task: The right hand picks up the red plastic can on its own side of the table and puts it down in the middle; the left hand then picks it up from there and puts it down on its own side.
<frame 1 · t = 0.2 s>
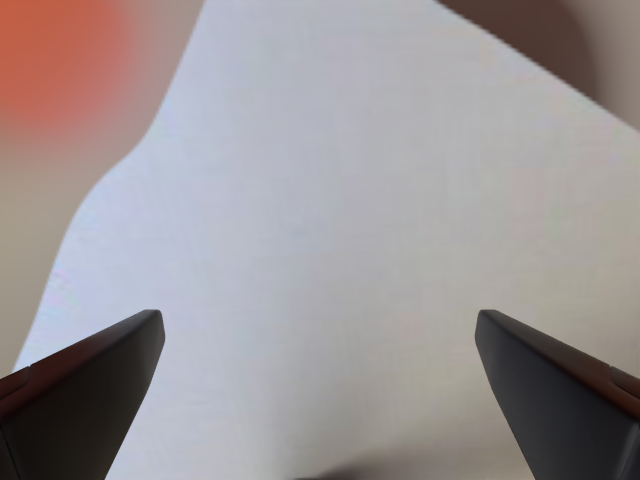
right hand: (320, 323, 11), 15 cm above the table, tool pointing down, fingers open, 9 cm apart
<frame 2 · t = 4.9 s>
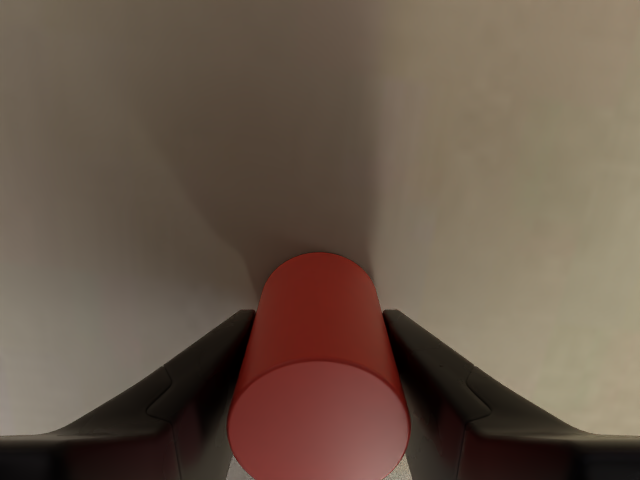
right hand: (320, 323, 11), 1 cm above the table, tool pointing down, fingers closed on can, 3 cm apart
can: (319, 304, 12), on the table, touching right hand
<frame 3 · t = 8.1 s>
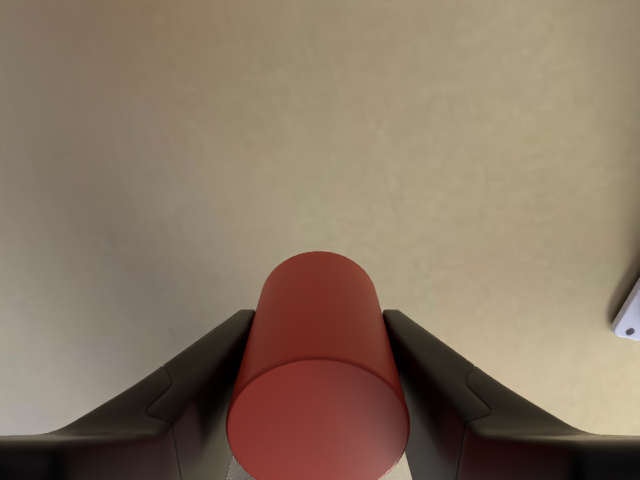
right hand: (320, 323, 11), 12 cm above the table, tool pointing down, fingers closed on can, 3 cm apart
can: (318, 304, 12), point 11 cm above the table, touching right hand
when the right hand's fingers open (2 cm above the table, at t = 11.2 s): can stays where it is, on the table.
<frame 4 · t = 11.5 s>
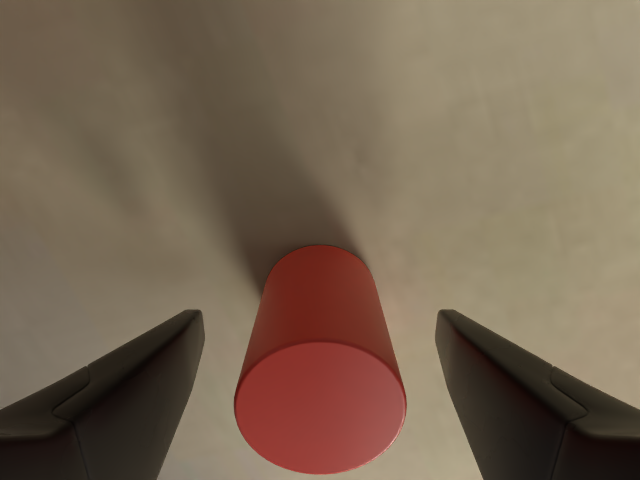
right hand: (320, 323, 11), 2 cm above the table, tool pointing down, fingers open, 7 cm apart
can: (320, 295, 13), on the table
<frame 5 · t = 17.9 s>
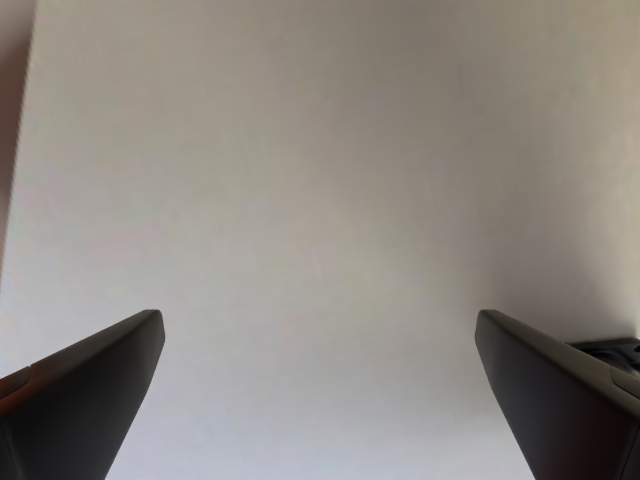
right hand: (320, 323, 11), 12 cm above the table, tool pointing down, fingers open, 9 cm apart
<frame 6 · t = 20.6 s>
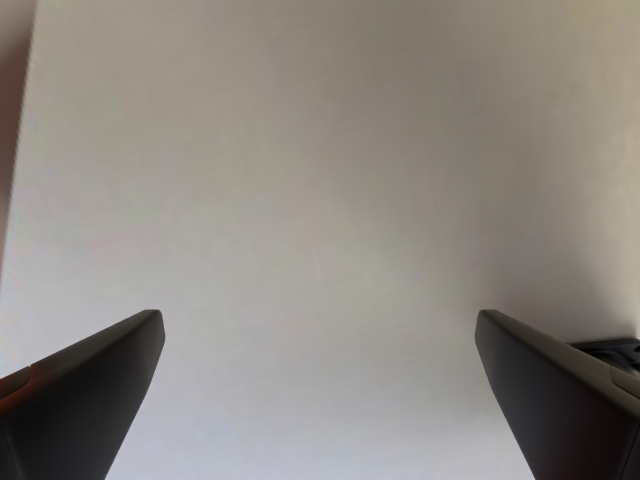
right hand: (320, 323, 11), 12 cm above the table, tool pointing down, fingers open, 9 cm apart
when the left hand's fingers open (2 cm above the table, at t = 23.3 s): can stays where it is, on the table.
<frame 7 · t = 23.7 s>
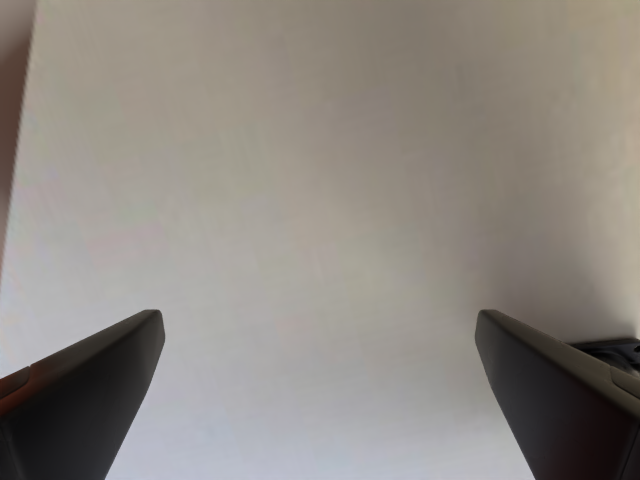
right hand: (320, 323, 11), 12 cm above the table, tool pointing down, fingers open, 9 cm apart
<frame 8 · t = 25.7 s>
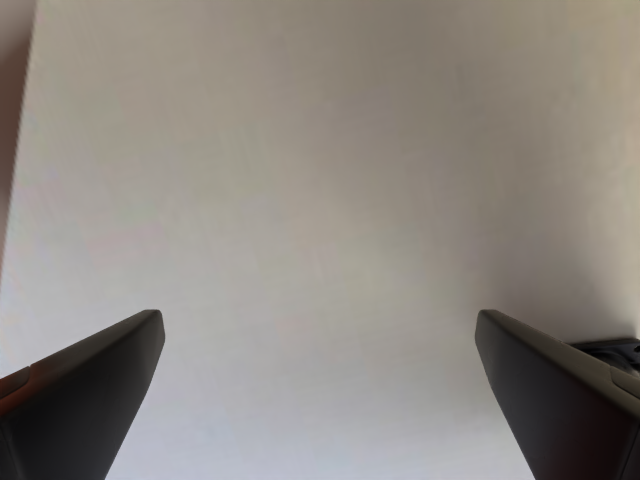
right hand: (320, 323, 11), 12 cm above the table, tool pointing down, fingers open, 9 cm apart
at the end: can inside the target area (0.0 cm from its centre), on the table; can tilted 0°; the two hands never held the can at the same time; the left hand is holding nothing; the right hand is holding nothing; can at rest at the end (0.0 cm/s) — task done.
